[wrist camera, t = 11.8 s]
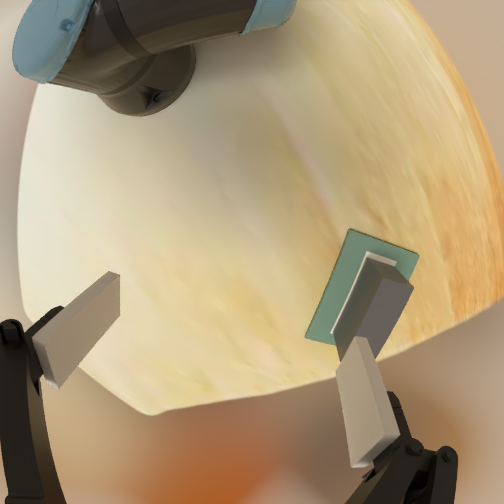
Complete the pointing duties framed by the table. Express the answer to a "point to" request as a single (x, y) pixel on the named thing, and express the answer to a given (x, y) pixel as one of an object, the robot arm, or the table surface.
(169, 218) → the table surface
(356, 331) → the block
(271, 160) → the table surface
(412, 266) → the green peg board
